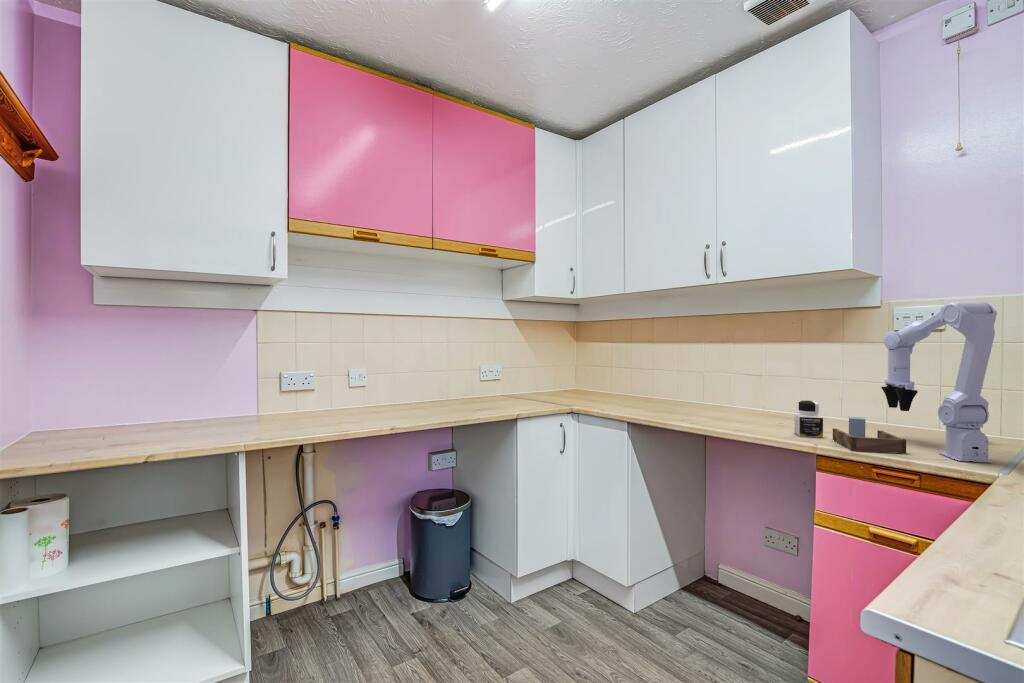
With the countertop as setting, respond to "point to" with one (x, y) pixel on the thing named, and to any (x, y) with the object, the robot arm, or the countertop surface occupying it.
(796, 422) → the medicine bottle
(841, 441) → the walnut bay
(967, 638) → the countertop surface
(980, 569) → the countertop surface
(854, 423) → the blue block
